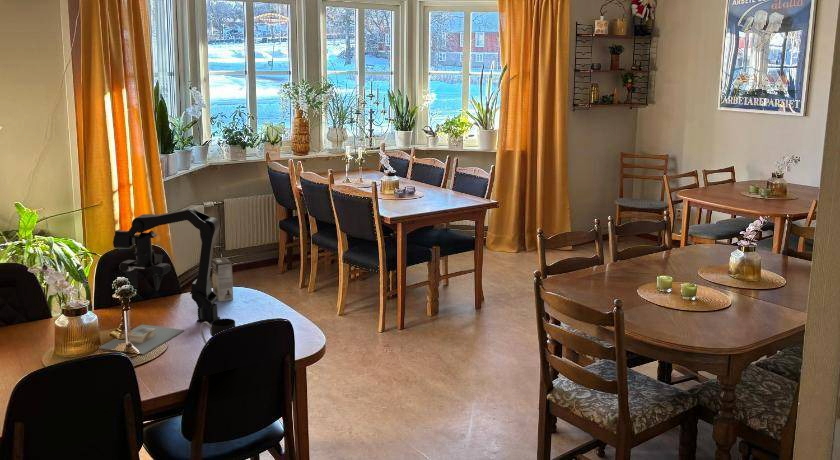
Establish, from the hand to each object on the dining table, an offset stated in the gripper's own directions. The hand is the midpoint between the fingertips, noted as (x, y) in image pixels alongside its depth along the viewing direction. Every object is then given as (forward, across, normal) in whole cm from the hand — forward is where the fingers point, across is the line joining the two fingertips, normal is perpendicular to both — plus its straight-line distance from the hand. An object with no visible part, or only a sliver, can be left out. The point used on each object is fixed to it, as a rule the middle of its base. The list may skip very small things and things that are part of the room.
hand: (146, 289), depth 292 cm
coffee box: (+12, -13, -32) cm, 37 cm away
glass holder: (+12, -48, +30) cm, 58 cm away
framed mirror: (+12, -11, +19) cm, 25 cm away
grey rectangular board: (+12, -11, +19) cm, 25 cm away
